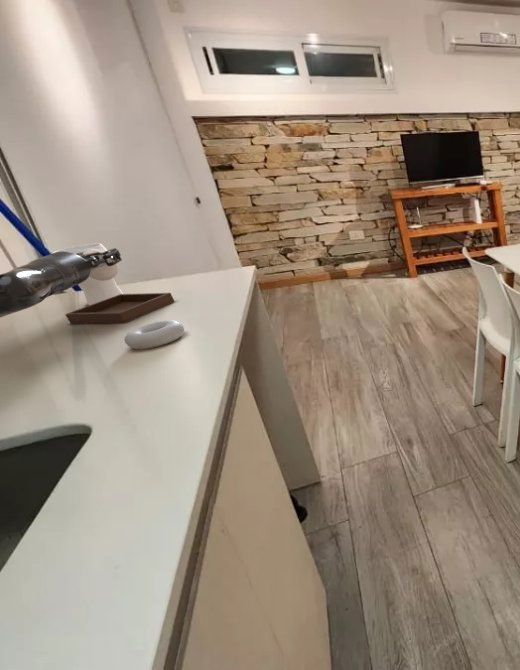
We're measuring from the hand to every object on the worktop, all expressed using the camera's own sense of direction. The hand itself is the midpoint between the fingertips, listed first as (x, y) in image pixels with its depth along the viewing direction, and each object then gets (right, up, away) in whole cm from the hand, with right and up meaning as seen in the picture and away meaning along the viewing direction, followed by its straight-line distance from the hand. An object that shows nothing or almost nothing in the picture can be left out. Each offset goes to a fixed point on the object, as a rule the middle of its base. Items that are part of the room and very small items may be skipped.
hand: (100, 254), depth 118 cm
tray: (+2, -14, +5) cm, 15 cm away
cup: (-13, -11, +15) cm, 22 cm away
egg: (+1, -7, +1) cm, 7 cm away
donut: (+28, -22, -14) cm, 38 cm away
